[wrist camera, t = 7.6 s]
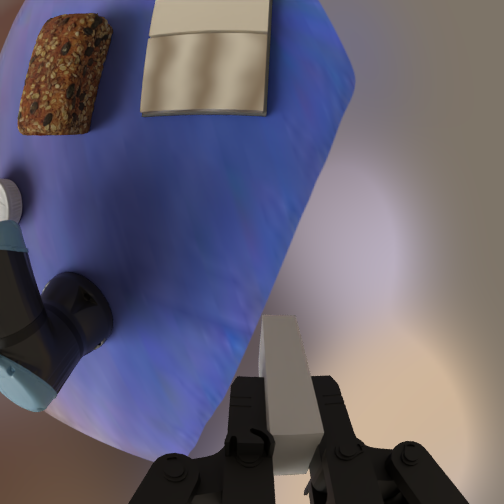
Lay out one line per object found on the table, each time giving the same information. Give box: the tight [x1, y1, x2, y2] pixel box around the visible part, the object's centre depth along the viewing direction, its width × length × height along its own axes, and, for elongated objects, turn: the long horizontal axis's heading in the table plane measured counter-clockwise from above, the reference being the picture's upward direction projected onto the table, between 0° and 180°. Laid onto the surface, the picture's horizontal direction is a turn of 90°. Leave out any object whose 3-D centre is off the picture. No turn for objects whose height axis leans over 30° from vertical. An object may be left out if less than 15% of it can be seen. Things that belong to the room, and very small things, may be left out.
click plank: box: [140, 33, 267, 114], centre depth 32 cm, size 16×11×2 cm
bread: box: [18, 13, 113, 136], centre depth 28 cm, size 19×11×10 cm, turn 168°
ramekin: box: [0, 179, 22, 223], centre depth 36 cm, size 11×11×5 cm
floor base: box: [142, 0, 272, 117], centre depth 31 cm, size 17×20×3 cm
